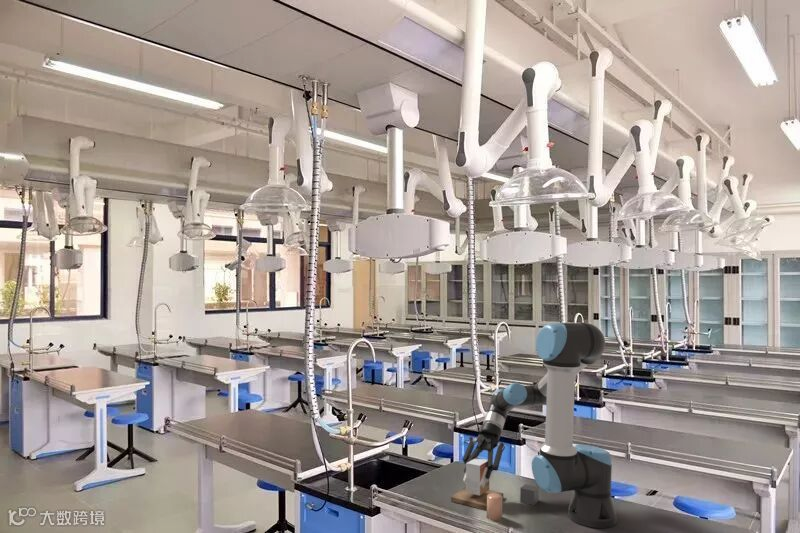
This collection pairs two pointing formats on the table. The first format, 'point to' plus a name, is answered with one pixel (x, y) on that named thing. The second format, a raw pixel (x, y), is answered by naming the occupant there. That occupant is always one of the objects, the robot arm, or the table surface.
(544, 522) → the table surface
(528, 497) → the charcoal block
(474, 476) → the small box
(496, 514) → the pinkish-brown upright cylinder
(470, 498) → the walnut board
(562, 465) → the robot arm
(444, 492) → the table surface
